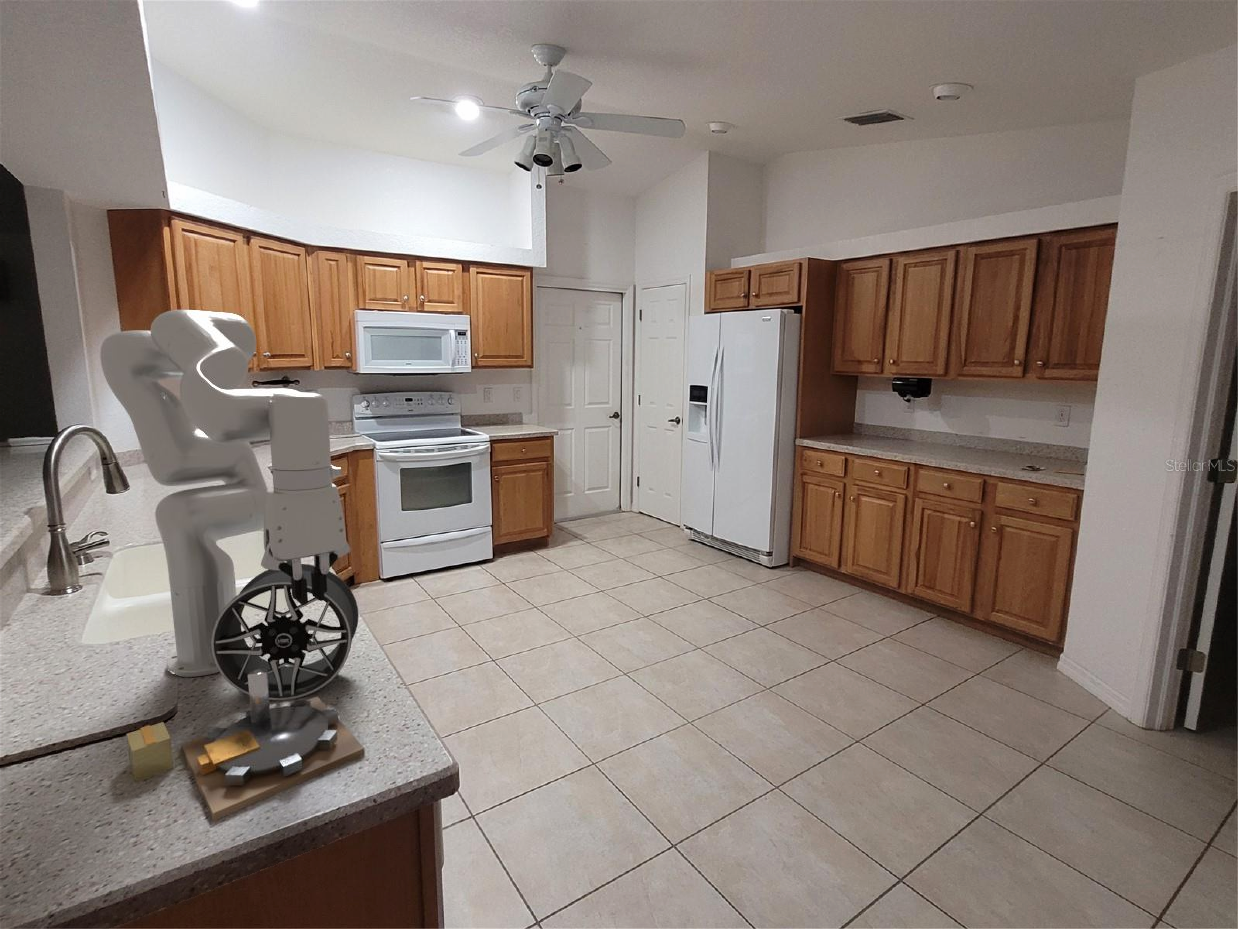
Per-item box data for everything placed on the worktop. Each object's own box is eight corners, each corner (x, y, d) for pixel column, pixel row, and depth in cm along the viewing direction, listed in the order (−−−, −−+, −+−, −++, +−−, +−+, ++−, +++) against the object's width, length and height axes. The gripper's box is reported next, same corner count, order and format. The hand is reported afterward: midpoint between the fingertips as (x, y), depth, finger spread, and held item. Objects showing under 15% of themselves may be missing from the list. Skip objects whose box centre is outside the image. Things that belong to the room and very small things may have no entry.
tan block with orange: (130, 764, 81) (126, 732, 81) (166, 751, 84) (163, 720, 83) (135, 782, 78) (131, 749, 77) (173, 768, 81) (170, 736, 80)
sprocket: (185, 741, 84) (180, 684, 82) (314, 696, 96) (311, 646, 94) (216, 805, 72) (210, 740, 71) (359, 744, 84) (356, 688, 83)
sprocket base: (181, 750, 84) (180, 742, 84) (317, 702, 97) (317, 694, 97) (213, 821, 72) (212, 811, 72) (364, 754, 84) (364, 746, 84)
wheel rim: (216, 707, 95) (205, 586, 91) (235, 678, 103) (226, 566, 100) (353, 692, 100) (348, 577, 97) (361, 665, 109) (356, 559, 105)
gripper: (348, 469, 95) (353, 581, 98) (232, 481, 84) (242, 606, 87) (368, 476, 90) (373, 594, 93) (248, 490, 79) (258, 623, 82)
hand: (310, 599), depth 90 cm, fingers closed
